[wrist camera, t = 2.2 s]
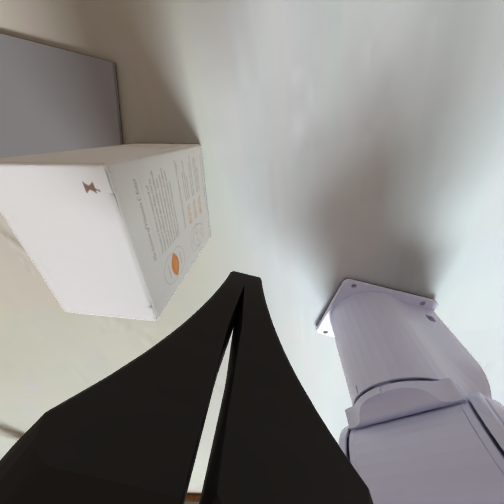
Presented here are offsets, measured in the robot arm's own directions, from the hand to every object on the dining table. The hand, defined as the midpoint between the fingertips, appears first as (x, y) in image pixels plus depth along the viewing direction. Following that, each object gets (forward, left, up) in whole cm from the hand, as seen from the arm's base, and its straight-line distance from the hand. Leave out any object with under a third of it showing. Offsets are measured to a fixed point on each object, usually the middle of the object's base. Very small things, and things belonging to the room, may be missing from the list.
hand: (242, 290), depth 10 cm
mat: (+18, 0, -10) cm, 21 cm away
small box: (+7, 0, -10) cm, 13 cm away
